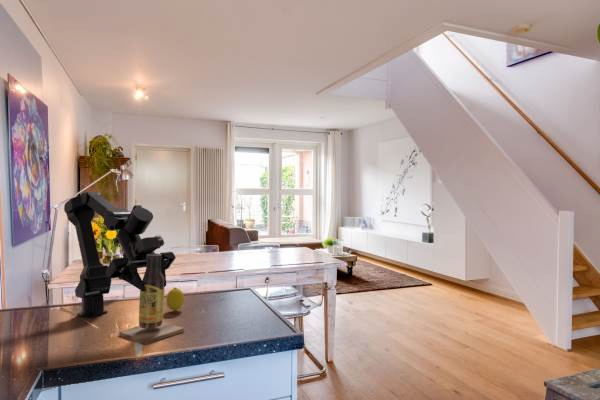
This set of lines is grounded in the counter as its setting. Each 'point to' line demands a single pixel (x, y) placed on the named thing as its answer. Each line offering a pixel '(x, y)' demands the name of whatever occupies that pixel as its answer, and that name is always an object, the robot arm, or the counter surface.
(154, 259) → the sauce bottle
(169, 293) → the lemon
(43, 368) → the counter surface
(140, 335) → the walnut board
